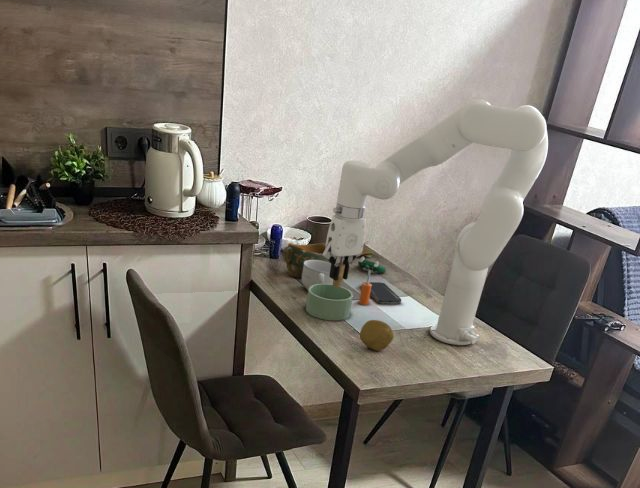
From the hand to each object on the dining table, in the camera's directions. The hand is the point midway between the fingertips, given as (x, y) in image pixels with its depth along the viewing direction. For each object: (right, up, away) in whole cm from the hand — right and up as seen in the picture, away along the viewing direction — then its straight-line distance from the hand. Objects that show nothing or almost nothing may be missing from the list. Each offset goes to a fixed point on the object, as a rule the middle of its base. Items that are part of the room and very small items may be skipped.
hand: (338, 277), depth 202 cm
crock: (-2, -8, +8) cm, 11 cm away
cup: (-8, +10, +33) cm, 35 cm away
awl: (0, -2, +1) cm, 2 cm away
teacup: (-5, +1, +20) cm, 21 cm away
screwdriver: (+9, -3, +17) cm, 19 cm away
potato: (+8, -22, -10) cm, 25 cm away
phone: (+15, +1, +24) cm, 29 cm away
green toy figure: (+14, +13, +43) cm, 47 cm away
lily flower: (+13, +23, +57) cm, 63 cm away
